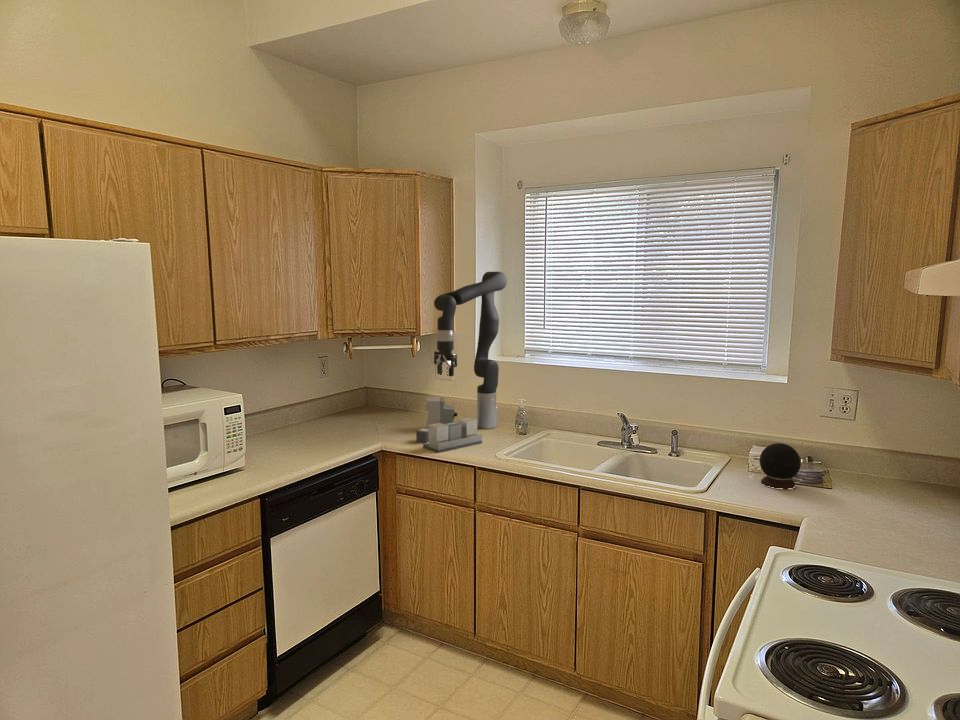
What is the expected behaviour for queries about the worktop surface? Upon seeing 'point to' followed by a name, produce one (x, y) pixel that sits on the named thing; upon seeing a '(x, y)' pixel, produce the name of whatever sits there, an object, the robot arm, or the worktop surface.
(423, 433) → the block
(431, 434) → the grey slotted holder
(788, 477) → the black ball on stand
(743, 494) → the worktop surface
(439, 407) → the circuit breaker
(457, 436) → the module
